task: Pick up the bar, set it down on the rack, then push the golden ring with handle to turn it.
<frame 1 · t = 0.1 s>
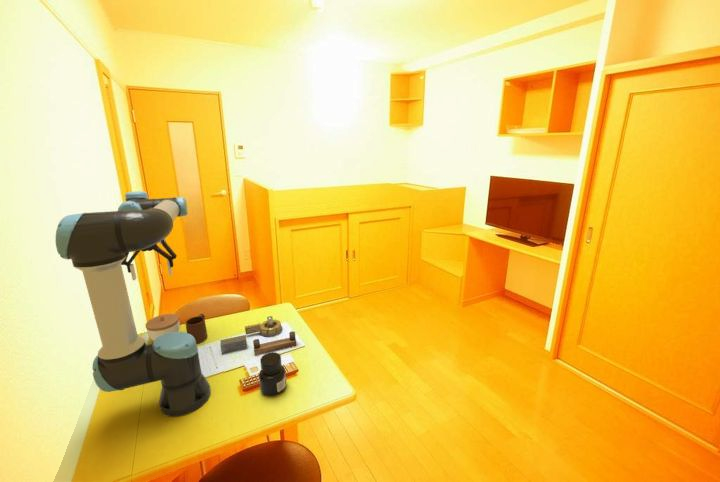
hand: (153, 276, 140), 28 cm above the table, fingers open, 13 cm apart
ink bottle: (273, 388, 114), on the table
golden ring with handle: (263, 326, 147), point 3 cm above the table, hinge at 0.0°
lidded bowl: (166, 339, 144), on the table
rack: (275, 348, 136), on the table
nut station: (271, 331, 149), on the table
bar: (234, 349, 136), on the table
mug: (200, 337, 145), on the table
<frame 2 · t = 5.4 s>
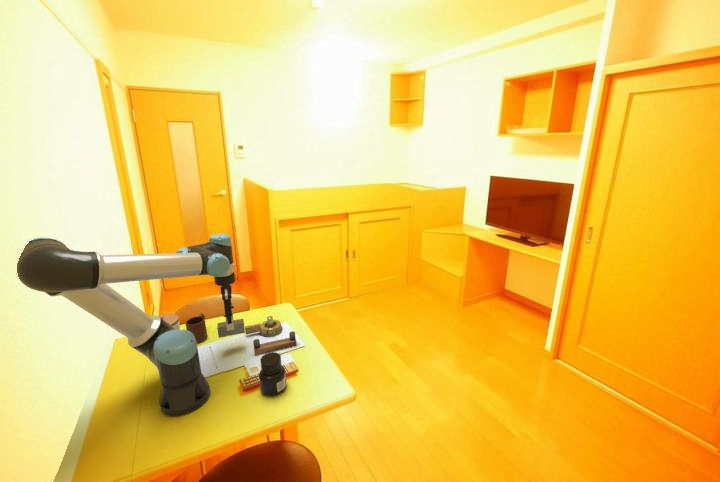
hand: (230, 326, 133), 11 cm above the table, fingers closed on bar, 4 cm apart
bar: (231, 332, 134), point 8 cm above the table, touching gripper
everything else where it was.
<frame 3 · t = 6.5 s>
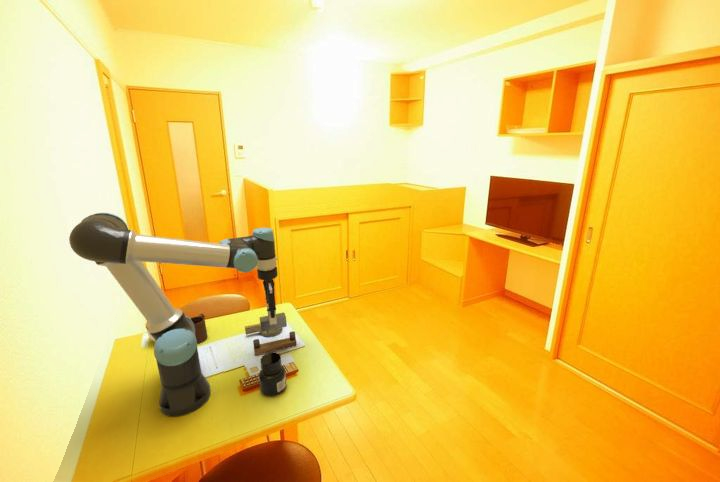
hand: (272, 321, 133), 13 cm above the table, fingers closed on bar, 4 cm apart
bar: (273, 326, 133), point 10 cm above the table, touching gripper
everything else where it was.
when the fingers open (6 cm above the table, at t = 7.8 s): bar stays where it is, resting on rack.
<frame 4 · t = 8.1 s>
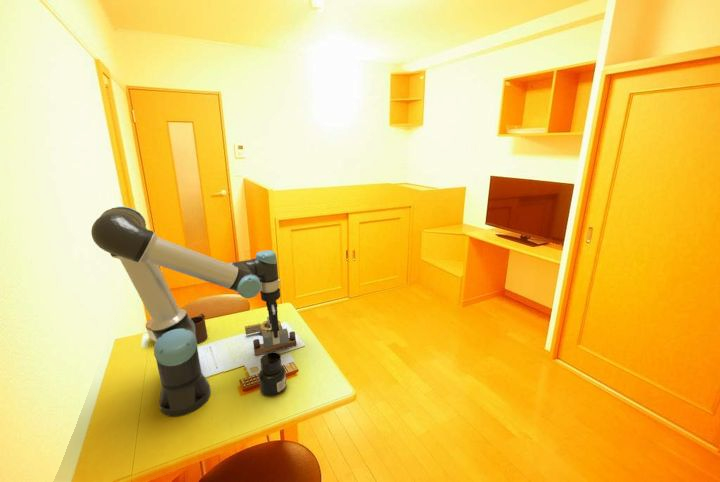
hand: (275, 340, 135), 4 cm above the table, fingers open, 4 cm apart
bar: (276, 342, 135), point 2 cm above the table, touching rack
everything else where it was.
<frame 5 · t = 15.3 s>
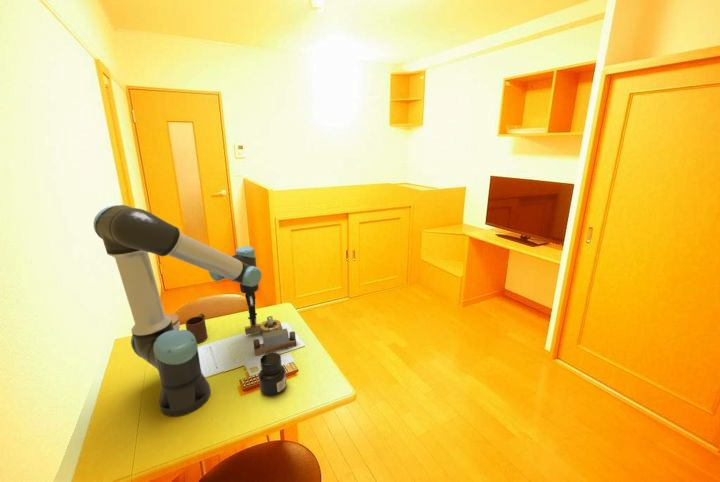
hand: (254, 329, 147), 2 cm above the table, fingers closed
golden ring with handle: (263, 327, 147), point 3 cm above the table, hinge at 2.1°, touching gripper
everything else where it was.
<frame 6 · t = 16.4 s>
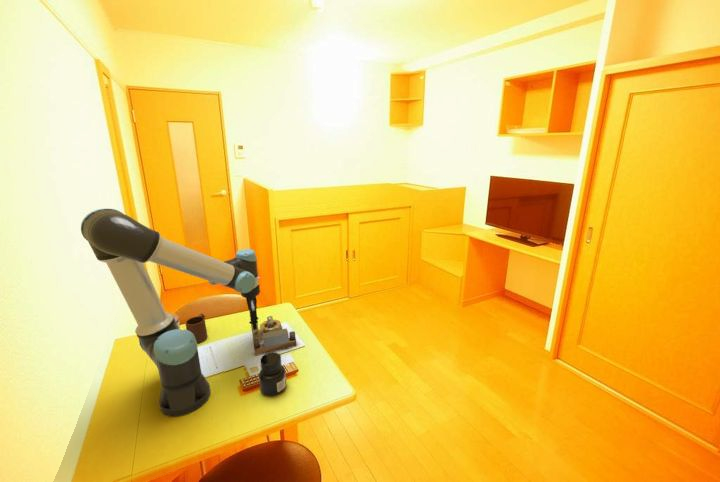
hand: (255, 334, 142), 2 cm above the table, fingers closed
golden ring with handle: (266, 329, 145), point 3 cm above the table, hinge at 45.6°, touching gripper
everything else where it was.
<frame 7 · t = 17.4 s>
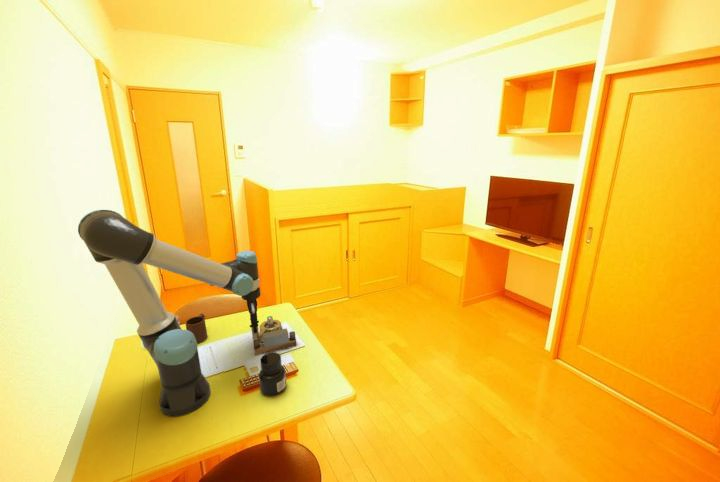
hand: (255, 338, 140), 2 cm above the table, fingers closed
golden ring with handle: (267, 329, 145), point 3 cm above the table, hinge at 56.6°, touching gripper
everything else where it was.
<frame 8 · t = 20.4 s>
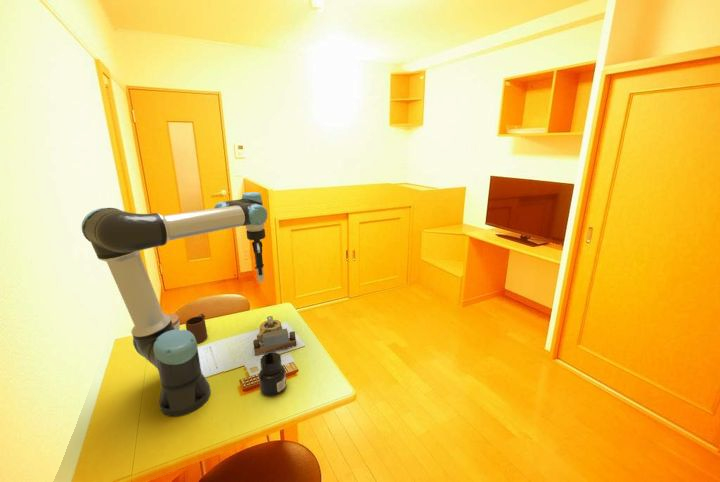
hand: (261, 281, 143), 24 cm above the table, fingers closed
golden ring with handle: (267, 329, 145), point 3 cm above the table, hinge at 56.7°
everything else where it was.
at the end: bar 0.5 cm off-centre on the rack, point 2.5 cm above the rack's base; golden ring with handle at +57° (first picture: +0°); the gripper is holding nothing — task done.
